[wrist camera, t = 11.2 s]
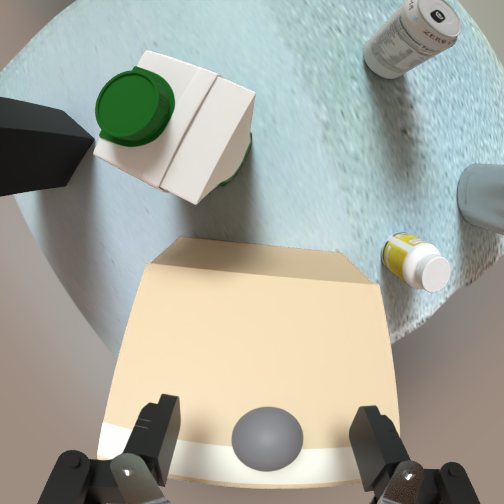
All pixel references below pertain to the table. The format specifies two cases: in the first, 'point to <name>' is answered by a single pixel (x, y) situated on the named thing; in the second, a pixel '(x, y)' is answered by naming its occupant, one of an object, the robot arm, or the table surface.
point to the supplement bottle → (415, 262)
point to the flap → (253, 374)
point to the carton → (261, 260)
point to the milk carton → (175, 126)
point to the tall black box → (38, 147)
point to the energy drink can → (412, 37)
